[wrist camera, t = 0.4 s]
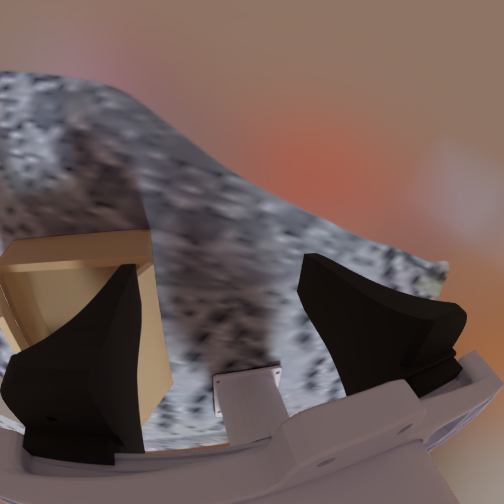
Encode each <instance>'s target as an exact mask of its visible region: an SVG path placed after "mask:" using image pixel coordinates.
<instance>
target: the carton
mask: <svg viewBox="0 0 504 504" xmlns="http://www.w3.org/2000/svg"><path fill="white" fill-rule="evenodd" d="M147 262H149V263H152V264H154V263H153V254H152V244H151V233H150V229H139V230H124V231H111V232H98V233H86V234H74V235H63V236H52V237H42V238H32V239H22V240H14V242H13V243H12V244H11V245H10V246H9V247H8V249H7V250H6V251H5V252H4V254H3V255H2V256H1V257H0V285H1V287H2V290H3V292H4V295H5V297H6V300H7V302H8V304H9V307H10V309H11V311H12V313H13V316H14V318H15V320H16V322H17V324H18V326H19V328H20V330H21V332H22V334H23V336H24V338H25V340H26V342H27V344H28V346H29V347H31V346H33V345H34V344H36V343H38V342H40V341H41V340H43V339H45V338H46V337H48V336H49V335H51V334H52V333H54V332H55V331H56V330H58V329H59V328H60V327H62V326H63V325H64V324H66V323H67V322H68V321H70V320H71V319H72V318H73V317H74V316H75V315H77V314H78V313H79V312H80V311H81V310H82V309H83V308H84V307H85V306H86V305H87V304H88V303H89V302H90V301H91V300H92V299H93V298H94V297H95V295H96V294H97V293H98V292H99V291H100V290H101V289H102V287H103V286H104V285H105V284H106V283H107V281H108V280H109V279H110V277H111V276H112V275H113V274H114V272H115V271H116V270H117V269H118V268H119V266H120V265H121V264H136V270H138V269H139V268H140V267H142V266H143V265H144V264H146V263H147Z"/></svg>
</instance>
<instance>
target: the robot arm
mask: <svg viewBox="0 0 504 504" xmlns="http://www.w3.org/2000/svg"><path fill="white" fill-rule="evenodd" d="M297 293H298V295H299V298H300V301H301V303H302V305H303V308H304V310H305V312H306V313H307V315H308V317H309V318H310V320H311V322H312V324H313V325H314V327H315V328H316V330H317V332H318V333H319V335H320V337H321V338H322V340H323V342H324V343H325V345H326V347H327V349H328V351H329V353H330V355H331V357H332V359H333V362H334V364H335V366H336V368H337V371H338V374H339V376H340V379H341V381H342V384H343V387H344V390H345V393H346V396H347V397H344V398H341V399H337V400H334V401H330V402H327V403H323V404H320V405H317V406H314V407H312V408H309V409H306V410H304V411H301V412H298V413H297V414H295V415H294V416H292V417H289V415H288V412H287V410H286V408H285V405H284V403H283V400H282V398H281V395H280V393H279V391H278V385H279V381H280V377H281V373H282V367H281V366H280V365H277V366H272V367H266V368H260V369H254V370H247V371H241V372H234V373H226V374H219V375H215V376H214V377H213V387H214V406H215V416H216V417H223V421H224V425H225V428H226V432H227V436H228V440H229V444H230V447H222V448H214V449H206V450H197V451H186V452H172V453H148V454H145V450H144V444H143V437H142V430H141V422H140V412H139V400H138V383H137V369H138V357H139V347H140V337H141V328H142V303H141V297H140V290H139V284H138V277H137V270H136V264H121V265H120V266H119V268H118V269H117V270H116V271H115V272H114V274H113V275H112V276H111V277H110V279H109V280H108V281H107V283H106V284H105V285H104V286H103V287H102V289H101V290H100V291H99V292H98V293H97V294H96V295H95V297H94V298H93V299H92V300H91V301H90V302H89V303H88V304H87V305H86V306H85V307H84V308H83V309H82V310H81V311H80V312H79V313H78V314H77V315H75V316H74V317H73V318H72V319H71V320H70V321H68V322H67V323H66V324H64V325H63V326H62V327H60V328H59V329H58V330H56V331H55V332H54V333H52V334H51V335H49V336H48V337H46V338H45V339H43V340H41V341H40V342H38V343H36V344H34V345H33V346H31V347H29V348H27V349H25V350H23V351H21V352H19V353H17V354H14V355H12V356H11V358H10V361H9V363H8V366H7V369H6V372H5V375H4V378H3V381H2V384H1V388H0V393H1V396H2V399H3V400H4V402H5V403H6V405H7V406H8V408H9V409H10V410H11V411H12V412H13V413H14V415H15V416H16V417H17V418H18V419H19V420H20V422H21V423H22V424H23V425H24V426H25V427H26V428H25V434H24V435H23V434H21V433H19V432H16V431H13V430H9V429H4V428H0V500H1V501H3V502H5V503H7V504H460V503H459V501H458V500H457V498H456V496H455V495H454V493H453V491H452V490H451V488H450V486H449V485H448V483H447V481H446V480H445V478H444V477H443V475H442V473H441V472H440V470H439V469H438V467H437V465H436V464H435V462H434V461H433V459H432V457H431V456H430V454H429V452H430V451H432V450H433V449H435V448H436V447H437V446H439V445H440V444H442V443H443V442H444V441H446V440H447V439H449V438H450V437H451V436H452V435H454V434H455V433H456V432H458V431H459V430H460V429H462V428H463V427H464V426H465V425H467V424H468V423H469V422H470V421H472V420H473V419H474V418H475V417H476V416H477V415H478V414H479V413H480V412H481V411H482V410H483V409H484V407H486V406H487V404H488V403H489V402H490V401H491V400H492V399H493V398H494V397H495V395H496V394H497V393H498V392H499V390H501V388H502V387H503V386H504V383H503V381H502V380H501V379H500V378H499V377H498V375H497V374H496V373H495V372H494V371H493V370H492V369H491V368H490V366H489V365H488V364H487V363H486V362H485V361H484V360H483V358H482V357H481V356H480V355H479V354H478V353H477V352H476V351H475V350H473V351H472V352H470V353H468V354H466V355H465V356H463V357H462V358H460V359H459V360H458V361H457V360H456V359H455V358H454V356H455V355H456V351H455V350H454V349H453V348H452V347H453V346H454V344H455V343H456V341H457V339H458V338H459V336H460V334H461V332H462V330H463V329H464V326H465V324H466V320H467V314H466V312H465V311H464V310H463V309H462V308H461V307H460V306H459V305H457V304H456V303H450V302H442V301H435V300H430V299H425V298H420V297H416V296H412V295H409V294H406V293H402V292H399V291H396V290H393V289H391V288H388V287H386V286H383V285H380V284H378V283H376V282H374V281H371V280H369V279H367V278H365V277H363V276H361V275H359V274H357V273H355V272H353V271H351V270H349V269H348V268H346V267H344V266H342V265H340V264H338V263H336V262H334V261H333V260H331V259H329V258H327V257H325V256H322V255H320V254H317V253H310V254H304V258H303V263H302V269H301V274H300V279H299V284H298V289H297Z"/></svg>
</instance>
